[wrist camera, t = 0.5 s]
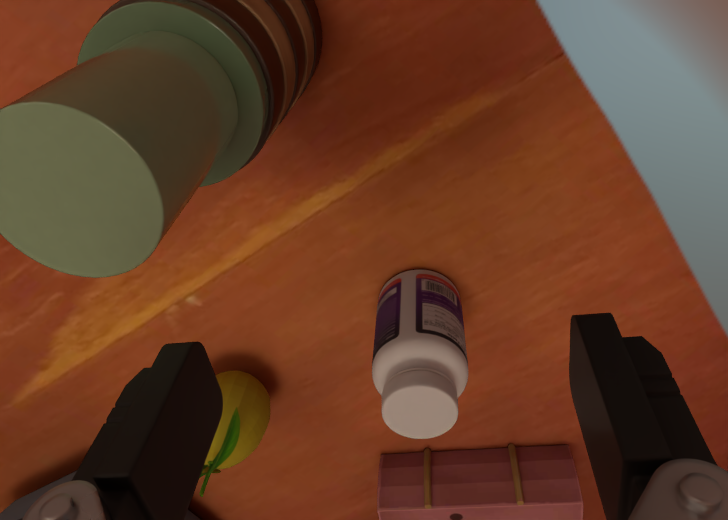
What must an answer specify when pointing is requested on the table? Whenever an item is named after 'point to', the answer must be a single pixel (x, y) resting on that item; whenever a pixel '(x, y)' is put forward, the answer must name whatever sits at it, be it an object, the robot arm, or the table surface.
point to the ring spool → (128, 136)
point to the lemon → (237, 422)
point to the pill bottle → (419, 353)
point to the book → (480, 485)
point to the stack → (273, 47)
